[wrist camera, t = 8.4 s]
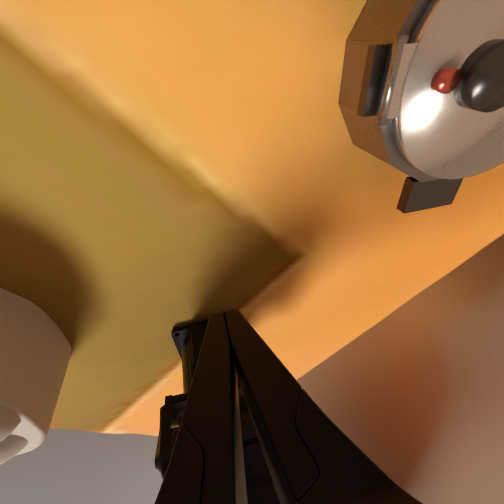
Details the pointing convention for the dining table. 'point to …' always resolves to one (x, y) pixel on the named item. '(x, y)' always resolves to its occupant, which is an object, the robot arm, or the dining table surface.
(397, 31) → the pot
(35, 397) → the lumpy-topped squat cylinder
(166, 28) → the dining table surface
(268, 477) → the robot arm
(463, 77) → the lid
